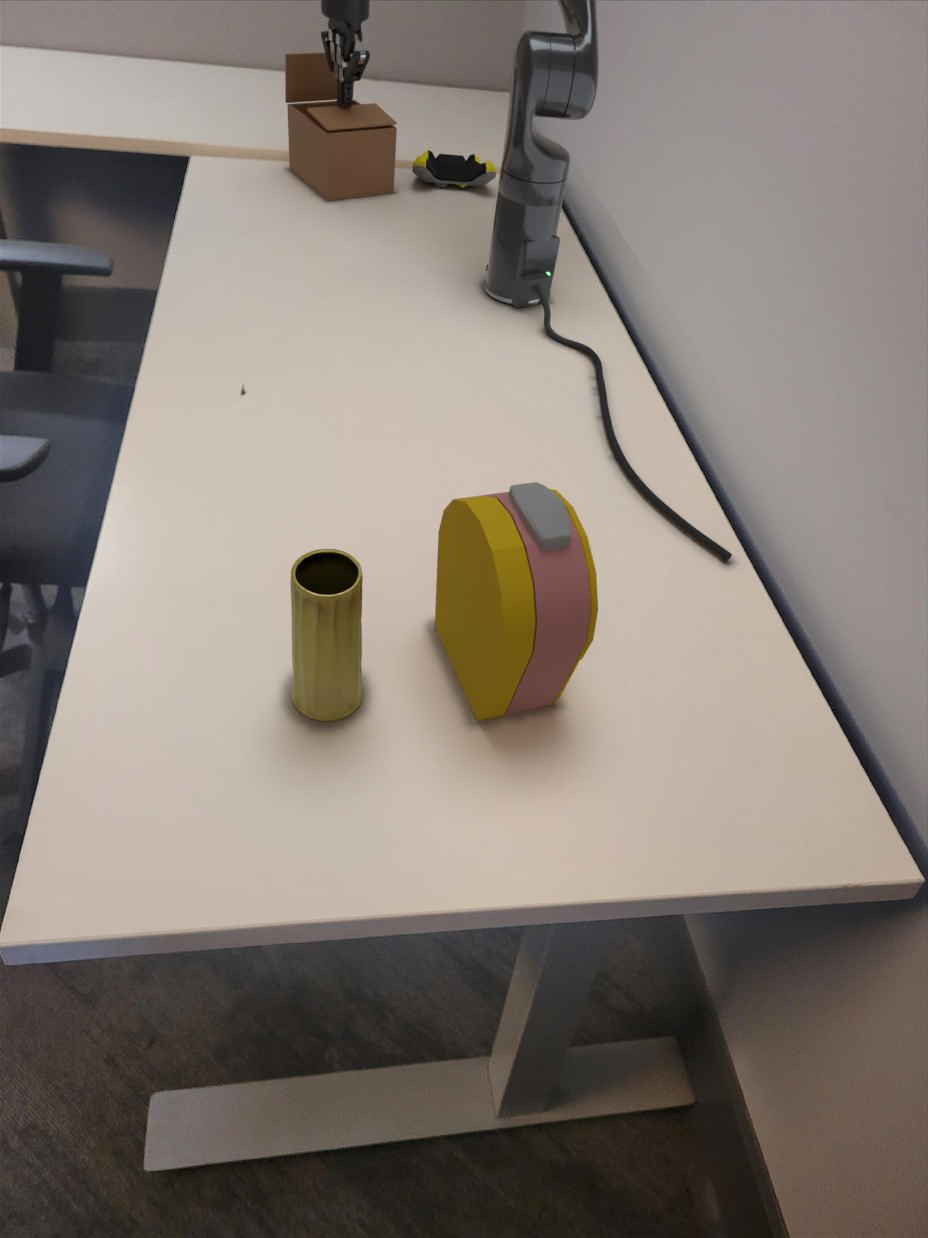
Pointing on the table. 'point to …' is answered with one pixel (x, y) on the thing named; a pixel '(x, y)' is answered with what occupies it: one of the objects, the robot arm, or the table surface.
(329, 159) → the cardboard box
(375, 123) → the box flap
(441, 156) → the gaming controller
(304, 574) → the vase
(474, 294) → the table surface
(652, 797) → the table surface
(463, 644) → the tape measure
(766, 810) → the table surface
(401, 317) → the table surface
